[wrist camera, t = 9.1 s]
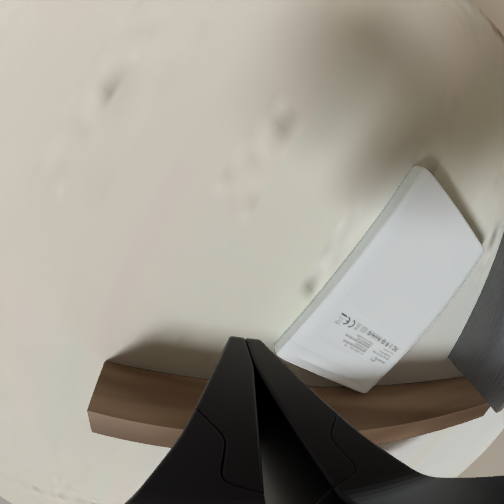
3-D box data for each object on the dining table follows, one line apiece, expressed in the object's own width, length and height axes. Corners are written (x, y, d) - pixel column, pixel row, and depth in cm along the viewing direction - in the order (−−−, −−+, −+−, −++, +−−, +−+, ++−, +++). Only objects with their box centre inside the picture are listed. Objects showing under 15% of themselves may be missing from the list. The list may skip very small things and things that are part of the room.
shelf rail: (462, 390, 22) (482, 415, 19) (106, 384, 16) (92, 431, 13) (473, 375, 22) (494, 400, 18) (105, 361, 16) (87, 410, 12)
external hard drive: (471, 244, 17) (359, 381, 19) (408, 163, 14) (271, 340, 17) (486, 252, 15) (368, 396, 18) (427, 167, 13) (276, 358, 15)
